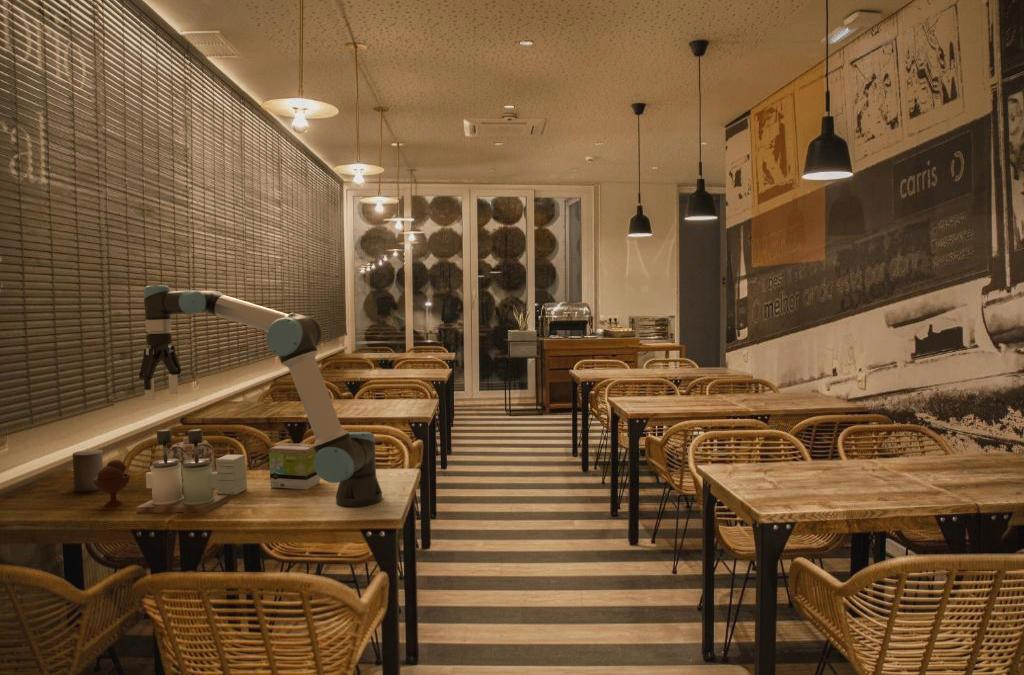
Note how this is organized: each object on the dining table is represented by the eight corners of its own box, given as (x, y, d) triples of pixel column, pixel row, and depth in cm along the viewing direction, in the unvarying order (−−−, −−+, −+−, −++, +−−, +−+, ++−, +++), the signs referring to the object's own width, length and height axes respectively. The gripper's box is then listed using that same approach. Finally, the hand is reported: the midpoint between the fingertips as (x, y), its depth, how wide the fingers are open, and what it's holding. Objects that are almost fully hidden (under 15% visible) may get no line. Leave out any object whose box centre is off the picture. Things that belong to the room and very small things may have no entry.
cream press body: (189, 497, 247) (187, 462, 247) (173, 505, 238) (171, 468, 237) (157, 496, 249) (155, 462, 248) (139, 505, 239) (137, 468, 238)
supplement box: (229, 488, 264) (227, 454, 263) (247, 489, 263) (245, 454, 262) (217, 494, 257) (215, 458, 256) (235, 494, 255) (234, 459, 255)
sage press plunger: (178, 466, 238) (176, 432, 237) (192, 461, 246) (190, 428, 245) (201, 466, 237) (200, 432, 236) (214, 461, 245) (212, 427, 244)
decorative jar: (194, 479, 279) (192, 433, 278) (216, 482, 274) (214, 435, 272) (167, 487, 268) (164, 439, 267) (190, 490, 263) (187, 441, 262)
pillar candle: (72, 493, 263) (70, 452, 262) (76, 487, 272) (74, 447, 271) (103, 490, 267) (101, 449, 266) (105, 484, 276) (103, 444, 275)
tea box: (269, 488, 263) (267, 448, 262) (284, 481, 273) (282, 442, 272) (307, 490, 259) (305, 449, 258) (321, 482, 269) (319, 443, 268)
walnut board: (228, 500, 248) (228, 495, 248) (206, 512, 234) (206, 507, 234) (162, 500, 251) (161, 495, 251) (136, 512, 237) (136, 507, 237)
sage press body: (177, 505, 238) (175, 468, 237) (193, 497, 247) (191, 462, 246) (210, 505, 236) (208, 468, 236) (225, 497, 246) (223, 462, 245)
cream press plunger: (183, 461, 246) (182, 428, 245) (170, 466, 238) (168, 432, 237) (161, 461, 247) (159, 428, 246) (147, 466, 239) (145, 432, 238)
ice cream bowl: (106, 500, 253) (104, 457, 252) (138, 499, 252) (135, 456, 252) (88, 509, 242) (85, 464, 241) (121, 508, 242) (118, 464, 241)
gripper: (169, 330, 253) (172, 391, 254) (124, 335, 228) (128, 402, 229) (190, 330, 252) (193, 391, 253) (146, 334, 227) (150, 402, 228)
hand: (162, 396), depth 241 cm, fingers open, 13 cm apart
